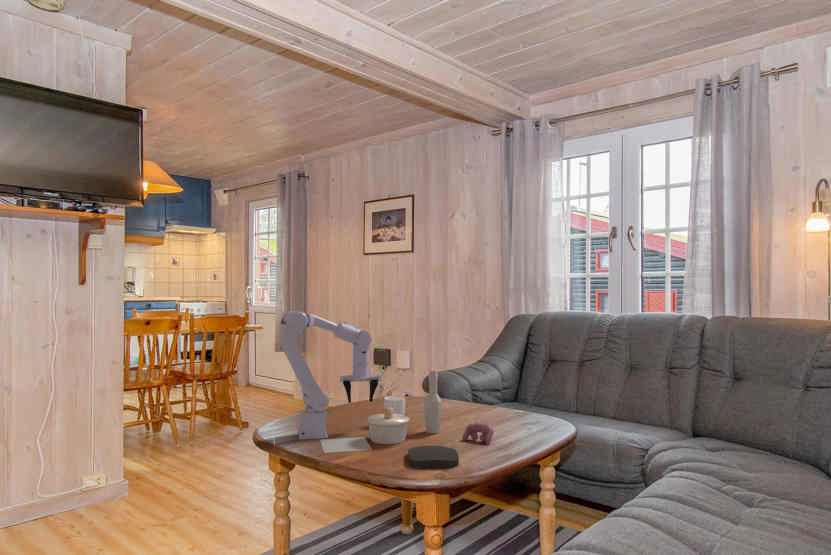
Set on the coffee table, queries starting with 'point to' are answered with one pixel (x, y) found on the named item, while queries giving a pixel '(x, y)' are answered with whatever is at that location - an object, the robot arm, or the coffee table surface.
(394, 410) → the white cup
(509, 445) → the coffee table surface
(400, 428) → the ramekin
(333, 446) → the mat
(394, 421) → the lid
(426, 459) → the media streaming box
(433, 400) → the low poly bottle
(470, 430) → the video game controller
